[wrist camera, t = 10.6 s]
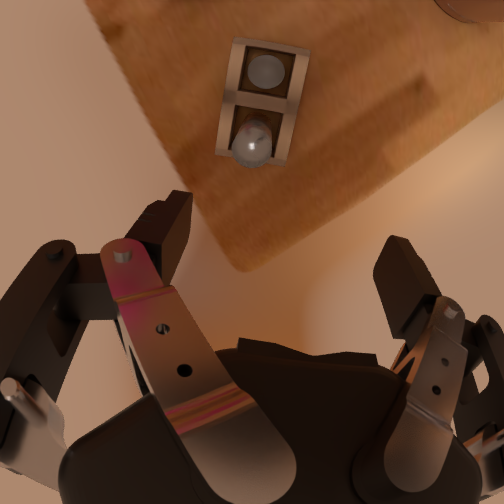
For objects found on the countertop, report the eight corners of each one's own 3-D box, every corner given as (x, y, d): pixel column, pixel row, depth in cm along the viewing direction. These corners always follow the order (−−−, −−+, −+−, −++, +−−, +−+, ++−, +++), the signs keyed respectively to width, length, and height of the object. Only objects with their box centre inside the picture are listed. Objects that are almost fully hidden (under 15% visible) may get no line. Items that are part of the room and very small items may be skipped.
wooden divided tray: (237, 40, 24) (229, 32, 19) (306, 52, 25) (315, 48, 19) (220, 145, 31) (208, 163, 26) (283, 156, 31) (286, 177, 26)
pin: (245, 109, 29) (234, 127, 21) (273, 114, 29) (275, 134, 21) (240, 136, 30) (228, 164, 22) (268, 141, 31) (267, 171, 22)
